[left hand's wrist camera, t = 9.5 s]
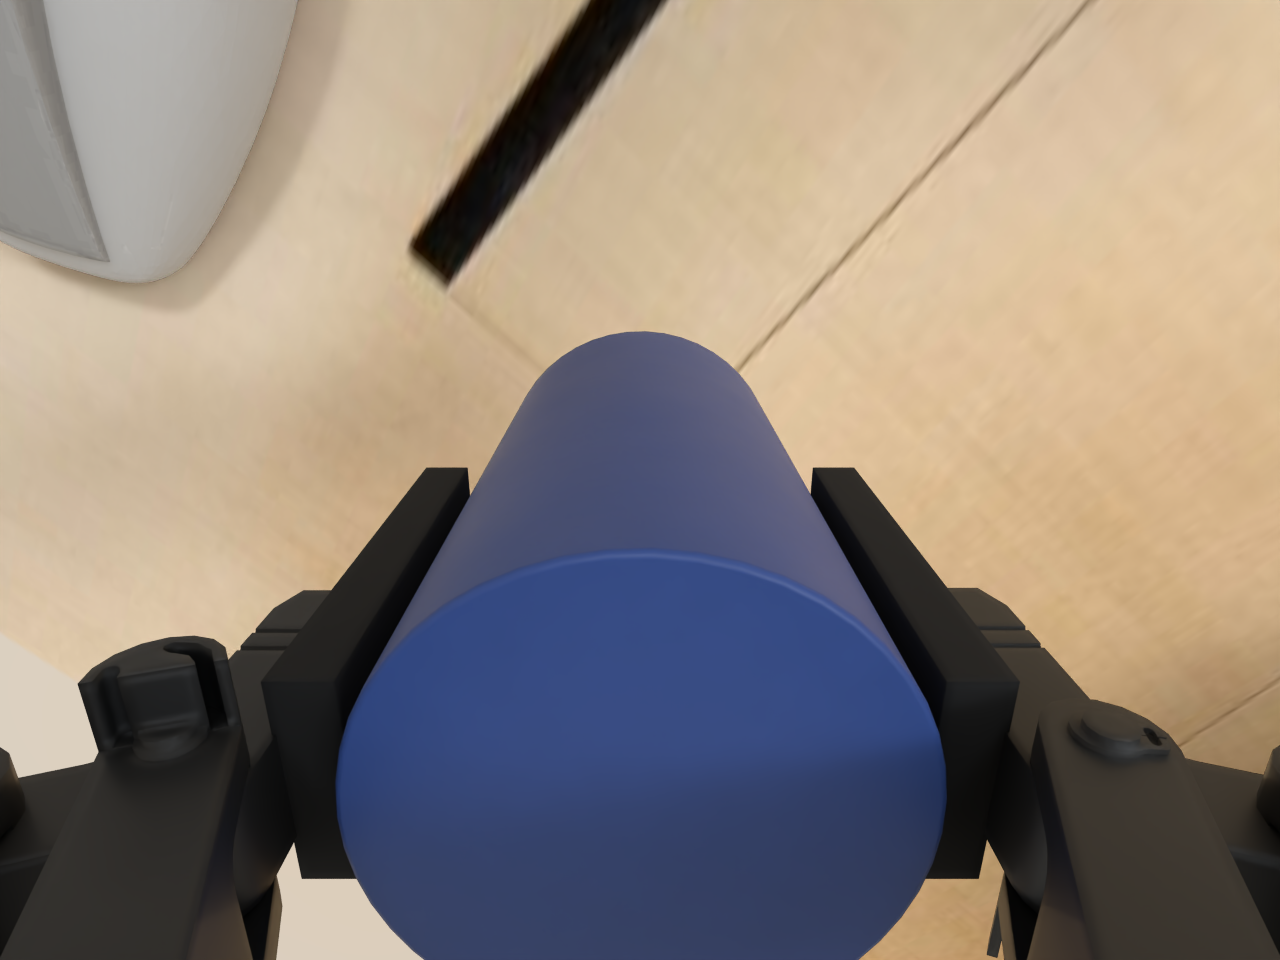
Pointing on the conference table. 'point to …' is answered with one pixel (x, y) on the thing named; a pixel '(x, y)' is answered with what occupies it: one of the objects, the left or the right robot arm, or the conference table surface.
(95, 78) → the projector
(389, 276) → the conference table surface
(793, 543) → the can
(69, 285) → the conference table surface
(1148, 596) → the conference table surface
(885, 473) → the conference table surface
